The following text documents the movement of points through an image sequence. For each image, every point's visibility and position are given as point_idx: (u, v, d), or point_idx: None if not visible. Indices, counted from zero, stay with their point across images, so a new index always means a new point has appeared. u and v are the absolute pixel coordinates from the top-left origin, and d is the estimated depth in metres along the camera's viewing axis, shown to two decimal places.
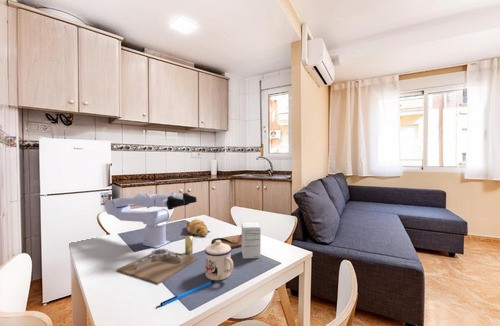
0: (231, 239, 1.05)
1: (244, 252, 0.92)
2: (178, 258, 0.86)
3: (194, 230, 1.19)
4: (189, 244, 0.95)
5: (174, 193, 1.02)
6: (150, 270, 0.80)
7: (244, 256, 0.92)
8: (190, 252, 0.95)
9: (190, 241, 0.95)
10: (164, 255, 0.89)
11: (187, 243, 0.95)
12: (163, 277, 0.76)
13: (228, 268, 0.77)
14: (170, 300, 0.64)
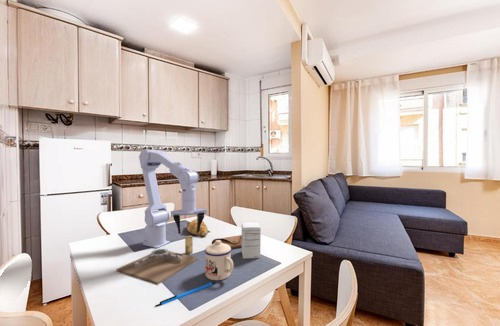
0: (231, 239, 1.04)
1: (244, 252, 0.92)
2: (178, 258, 0.86)
3: (194, 230, 1.19)
4: (189, 244, 0.95)
5: (189, 213, 0.93)
6: (150, 270, 0.80)
7: (244, 256, 0.92)
8: (190, 252, 0.95)
9: (190, 241, 0.95)
10: (164, 255, 0.89)
11: (187, 243, 0.95)
12: (163, 277, 0.76)
13: (228, 268, 0.77)
14: (169, 299, 0.64)
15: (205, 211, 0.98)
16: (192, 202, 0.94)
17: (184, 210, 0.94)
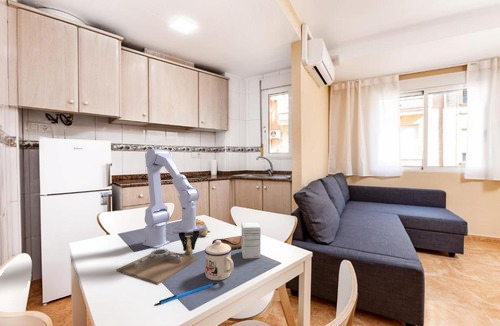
0: (232, 240, 1.04)
1: (244, 252, 0.92)
2: (178, 258, 0.86)
3: None
4: (189, 244, 0.95)
5: (189, 231, 0.93)
6: (150, 270, 0.80)
7: (244, 256, 0.92)
8: (190, 252, 0.95)
9: (190, 241, 0.95)
10: (164, 255, 0.89)
11: (187, 243, 0.95)
12: (163, 277, 0.76)
13: (228, 268, 0.77)
14: (169, 299, 0.64)
15: (205, 228, 0.98)
16: (192, 220, 0.94)
17: (184, 228, 0.94)
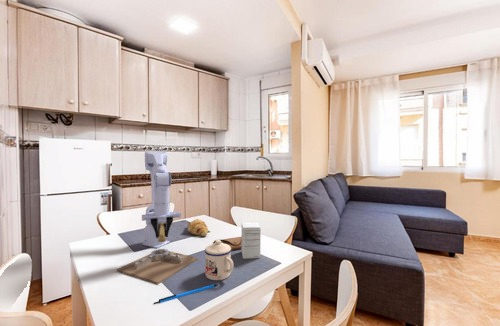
0: (233, 241, 1.03)
1: (244, 252, 0.92)
2: (178, 258, 0.86)
3: (195, 230, 1.19)
4: (162, 231, 0.90)
5: (161, 217, 0.88)
6: (150, 270, 0.80)
7: (244, 256, 0.92)
8: (163, 239, 0.90)
9: (163, 228, 0.90)
10: (164, 255, 0.89)
11: (160, 230, 0.90)
12: (163, 277, 0.76)
13: (228, 268, 0.77)
14: (168, 298, 0.65)
15: (179, 215, 0.93)
16: (165, 205, 0.89)
17: (156, 214, 0.89)
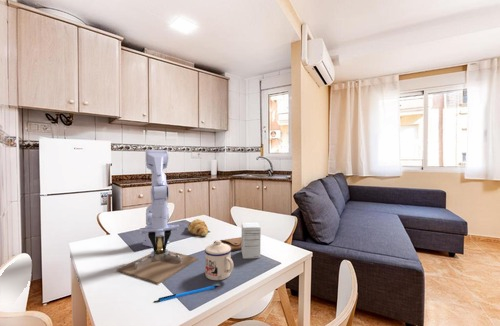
0: (233, 241, 1.02)
1: (244, 252, 0.92)
2: (178, 258, 0.86)
3: (195, 230, 1.19)
4: (160, 244, 0.90)
5: None
6: (150, 270, 0.80)
7: (244, 256, 0.92)
8: (161, 253, 0.90)
9: (161, 241, 0.90)
10: (164, 255, 0.89)
11: (157, 243, 0.90)
12: (163, 277, 0.76)
13: (228, 268, 0.77)
14: (168, 297, 0.65)
15: (177, 228, 0.92)
16: (162, 219, 0.89)
17: (154, 227, 0.88)
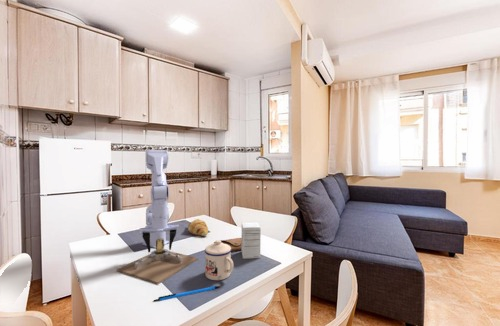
0: (233, 242, 1.01)
1: (244, 252, 0.92)
2: (178, 258, 0.86)
3: (195, 230, 1.19)
4: (160, 247, 0.90)
5: None
6: (150, 270, 0.80)
7: (244, 256, 0.92)
8: None
9: (161, 244, 0.90)
10: (164, 255, 0.89)
11: (157, 246, 0.90)
12: (163, 277, 0.76)
13: (228, 268, 0.77)
14: (168, 296, 0.65)
15: (177, 228, 0.92)
16: (162, 219, 0.89)
17: (154, 227, 0.88)
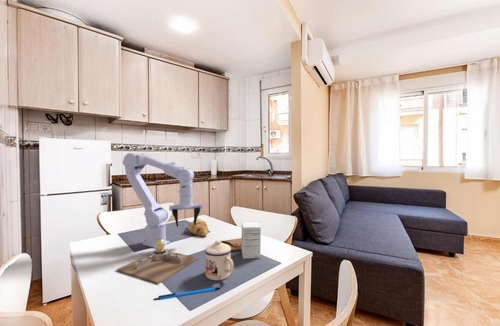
0: (234, 242, 1.01)
1: (244, 252, 0.92)
2: (178, 258, 0.86)
3: (195, 230, 1.19)
4: (160, 247, 0.90)
5: (186, 208, 1.02)
6: (150, 270, 0.80)
7: (244, 256, 0.92)
8: None
9: (161, 244, 0.90)
10: (164, 255, 0.89)
11: (157, 246, 0.90)
12: (163, 277, 0.76)
13: (228, 268, 0.77)
14: (168, 296, 0.66)
15: (201, 206, 1.06)
16: (189, 197, 1.03)
17: (181, 205, 1.02)
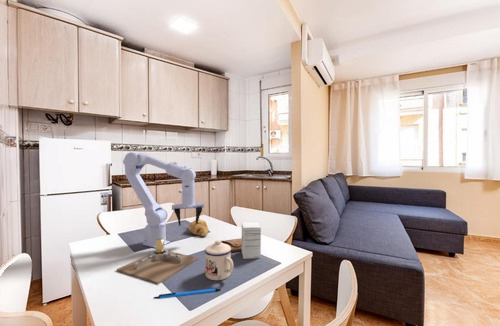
0: (234, 242, 1.01)
1: (244, 252, 0.91)
2: (178, 258, 0.86)
3: (195, 230, 1.19)
4: (160, 247, 0.90)
5: None
6: (150, 270, 0.80)
7: (244, 256, 0.91)
8: None
9: (161, 244, 0.90)
10: (164, 255, 0.89)
11: (157, 246, 0.90)
12: (163, 277, 0.76)
13: (228, 268, 0.77)
14: (168, 295, 0.66)
15: (203, 205, 1.08)
16: (191, 197, 1.04)
17: (184, 204, 1.04)
